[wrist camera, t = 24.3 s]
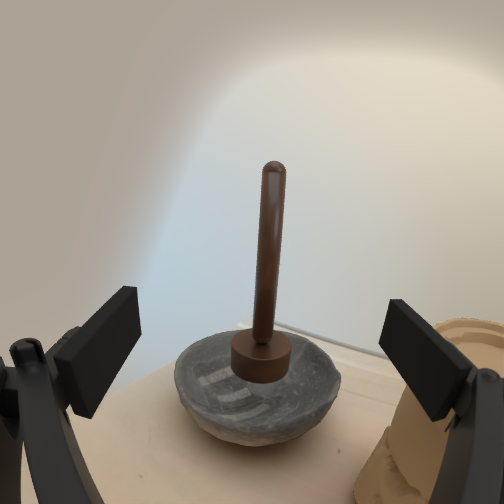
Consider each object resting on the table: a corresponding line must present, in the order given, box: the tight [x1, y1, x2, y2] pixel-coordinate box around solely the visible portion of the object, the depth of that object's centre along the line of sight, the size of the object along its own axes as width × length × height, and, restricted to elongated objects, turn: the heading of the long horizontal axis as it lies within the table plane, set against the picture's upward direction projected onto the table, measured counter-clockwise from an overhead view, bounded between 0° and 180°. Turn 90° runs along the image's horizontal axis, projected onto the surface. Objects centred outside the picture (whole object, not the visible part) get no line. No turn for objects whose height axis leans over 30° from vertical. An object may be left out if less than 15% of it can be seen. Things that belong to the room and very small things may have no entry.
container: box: [354, 318, 504, 504], centre depth 14 cm, size 13×13×18 cm
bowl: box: [174, 330, 341, 446], centre depth 30 cm, size 18×18×8 cm
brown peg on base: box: [231, 161, 292, 384], centre depth 26 cm, size 6×6×20 cm
